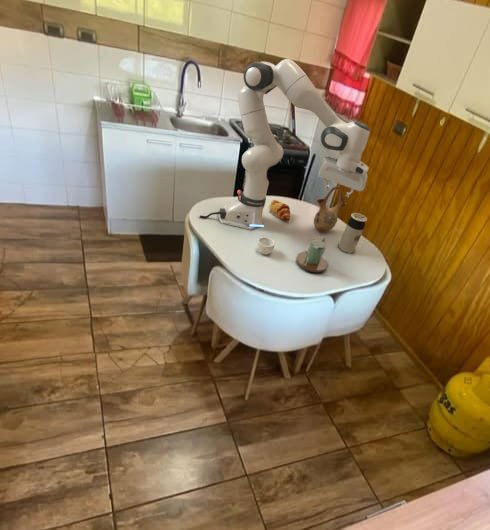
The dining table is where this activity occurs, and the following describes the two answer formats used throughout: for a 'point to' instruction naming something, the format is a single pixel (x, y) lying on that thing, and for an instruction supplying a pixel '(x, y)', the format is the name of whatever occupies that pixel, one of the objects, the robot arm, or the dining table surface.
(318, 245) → the green mug on saucer
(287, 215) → the croissant
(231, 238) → the dining table surface
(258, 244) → the teacup
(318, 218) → the ceramic vessel
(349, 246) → the travel mug
